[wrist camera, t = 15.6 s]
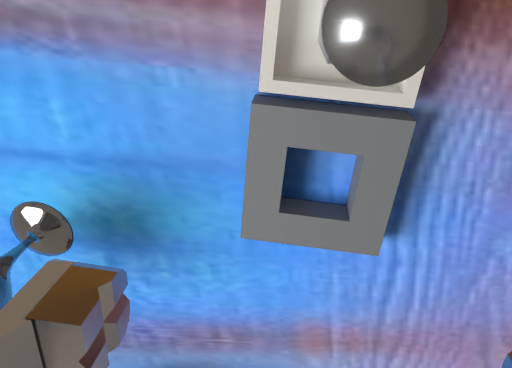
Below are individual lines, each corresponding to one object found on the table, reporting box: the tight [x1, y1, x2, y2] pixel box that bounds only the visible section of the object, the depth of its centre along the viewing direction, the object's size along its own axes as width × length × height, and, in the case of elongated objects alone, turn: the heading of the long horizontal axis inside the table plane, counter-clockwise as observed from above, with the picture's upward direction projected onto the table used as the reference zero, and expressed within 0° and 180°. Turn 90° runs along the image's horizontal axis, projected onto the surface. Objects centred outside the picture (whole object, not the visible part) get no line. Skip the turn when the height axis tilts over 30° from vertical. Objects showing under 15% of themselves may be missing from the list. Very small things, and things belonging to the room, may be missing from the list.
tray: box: [259, 0, 425, 108], centre depth 28 cm, size 12×12×3 cm
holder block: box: [241, 95, 416, 256], centre depth 34 cm, size 13×13×3 cm
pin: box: [317, 0, 448, 87], centre depth 22 cm, size 5×5×14 cm
